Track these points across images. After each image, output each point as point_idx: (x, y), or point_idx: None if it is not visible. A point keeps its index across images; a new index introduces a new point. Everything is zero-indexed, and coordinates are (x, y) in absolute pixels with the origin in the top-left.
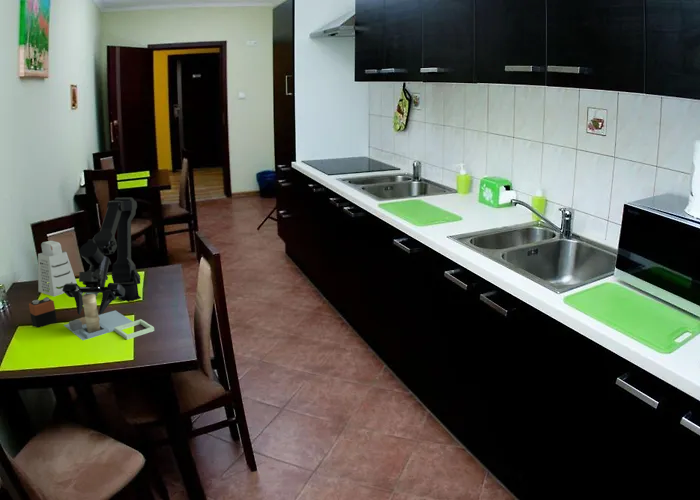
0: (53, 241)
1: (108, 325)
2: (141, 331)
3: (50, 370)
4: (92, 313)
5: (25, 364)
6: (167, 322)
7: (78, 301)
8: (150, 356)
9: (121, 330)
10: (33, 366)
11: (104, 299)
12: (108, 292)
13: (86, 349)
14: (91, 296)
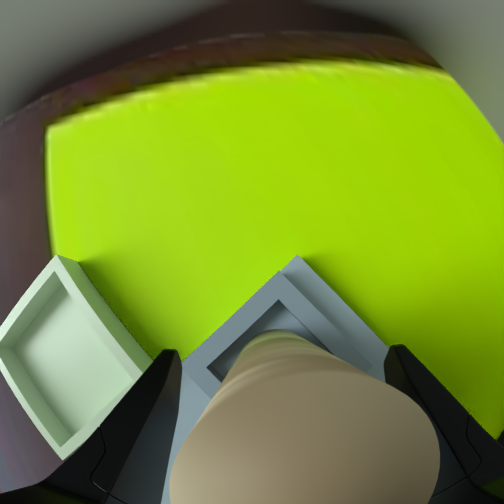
0: None
1: None
2: (15, 308)
3: (309, 48)
4: (248, 352)
5: (423, 93)
6: (11, 448)
7: (457, 439)
8: (8, 156)
9: (95, 330)
10: (387, 76)
11: (80, 464)
12: None
13: (249, 193)
14: (228, 474)
